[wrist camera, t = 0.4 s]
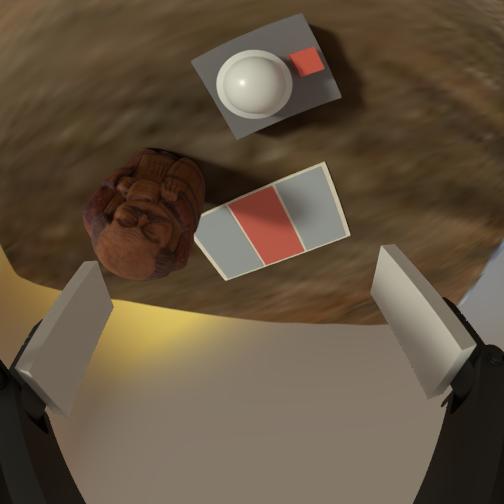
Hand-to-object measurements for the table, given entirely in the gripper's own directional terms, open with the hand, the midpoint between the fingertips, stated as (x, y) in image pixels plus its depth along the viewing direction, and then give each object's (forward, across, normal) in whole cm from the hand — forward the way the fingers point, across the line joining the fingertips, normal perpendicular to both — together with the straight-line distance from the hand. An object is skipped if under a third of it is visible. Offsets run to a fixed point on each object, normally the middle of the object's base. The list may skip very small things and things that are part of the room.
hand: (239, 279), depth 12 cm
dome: (+17, +2, +10) cm, 20 cm away
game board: (+27, +4, -10) cm, 29 cm away
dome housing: (+23, +4, +11) cm, 26 cm away
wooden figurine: (+27, -9, -1) cm, 28 cm away
